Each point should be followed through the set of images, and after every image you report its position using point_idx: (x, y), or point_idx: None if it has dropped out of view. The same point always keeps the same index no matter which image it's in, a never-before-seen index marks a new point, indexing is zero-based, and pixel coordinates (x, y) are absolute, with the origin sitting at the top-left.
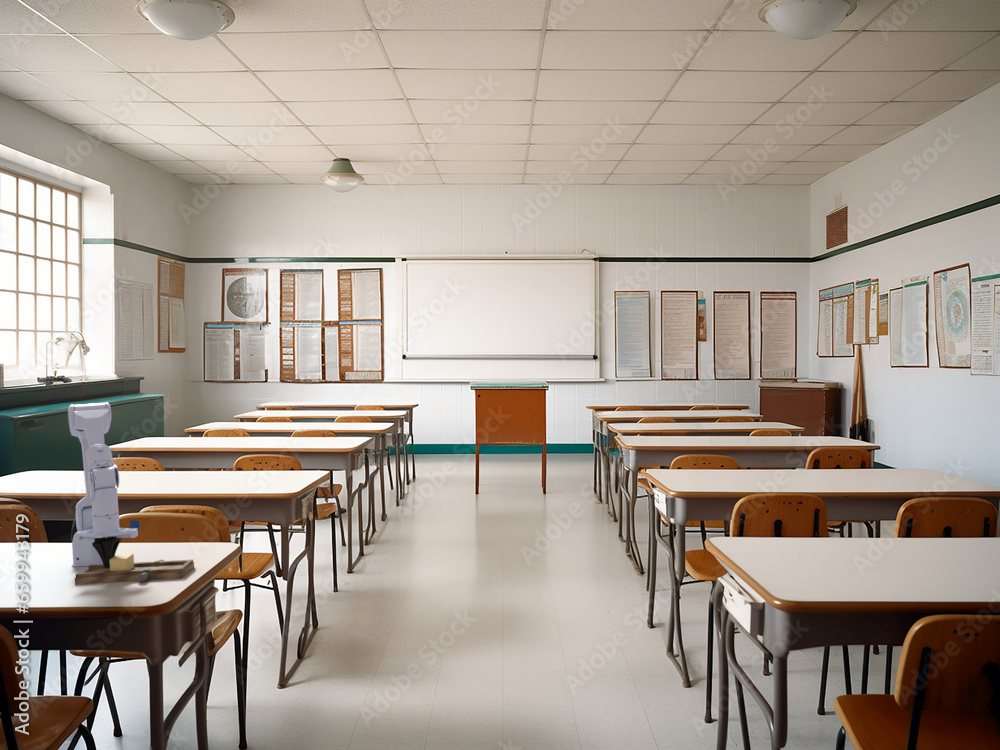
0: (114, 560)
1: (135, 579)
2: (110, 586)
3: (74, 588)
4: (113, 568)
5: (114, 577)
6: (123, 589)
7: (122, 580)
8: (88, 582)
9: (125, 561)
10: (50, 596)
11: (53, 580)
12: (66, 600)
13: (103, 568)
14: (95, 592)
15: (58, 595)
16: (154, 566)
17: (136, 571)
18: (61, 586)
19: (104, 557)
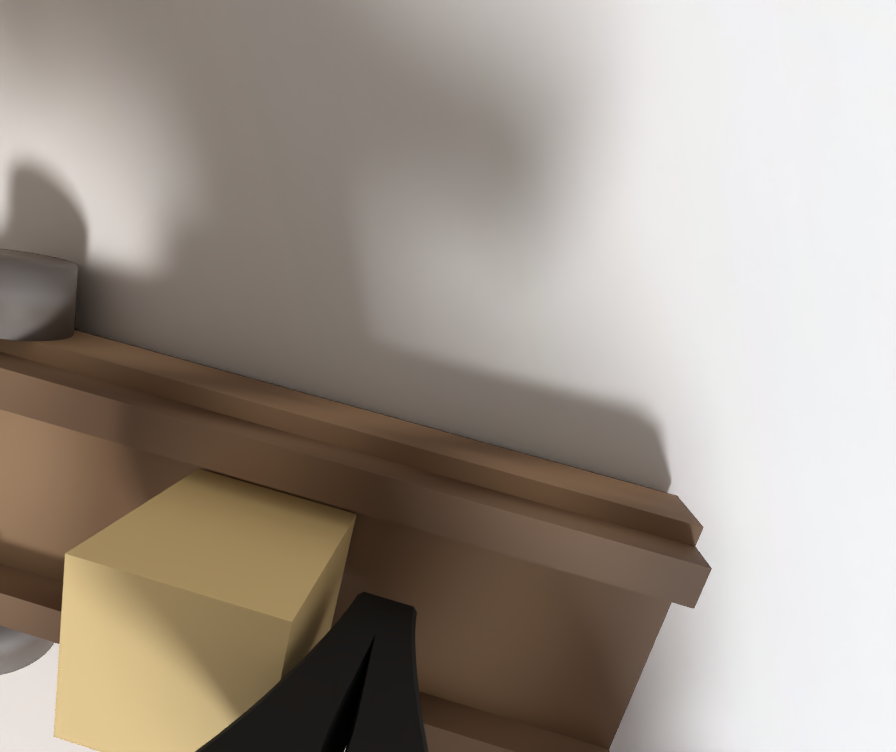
0: (232, 590)
1: (132, 349)
2: (332, 300)
3: (659, 386)
4: (303, 532)
5: (302, 410)
6: (186, 151)
7: (248, 382)
8: (552, 464)
9: (105, 532)
10: (864, 223)
11: (890, 706)
12: (674, 3)
13: (466, 702)
14: (429, 167)
15: (784, 223)
16: (2, 542)
17: (60, 381)
18: (793, 502)
19: (361, 697)
